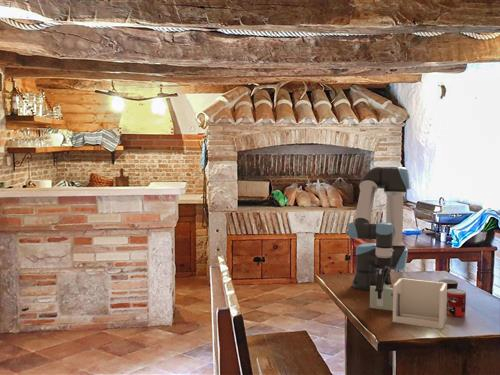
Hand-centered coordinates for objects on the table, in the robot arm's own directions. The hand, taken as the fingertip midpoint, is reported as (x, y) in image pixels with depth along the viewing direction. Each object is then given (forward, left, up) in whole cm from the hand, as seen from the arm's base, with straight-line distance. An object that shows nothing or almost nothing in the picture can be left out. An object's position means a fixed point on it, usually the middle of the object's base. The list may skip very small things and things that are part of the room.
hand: (383, 301), depth 243 cm
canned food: (+31, +5, -3) cm, 32 cm away
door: (0, 0, -3) cm, 3 cm away
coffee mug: (+25, +27, -3) cm, 37 cm away
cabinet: (+18, -10, -3) cm, 21 cm away
